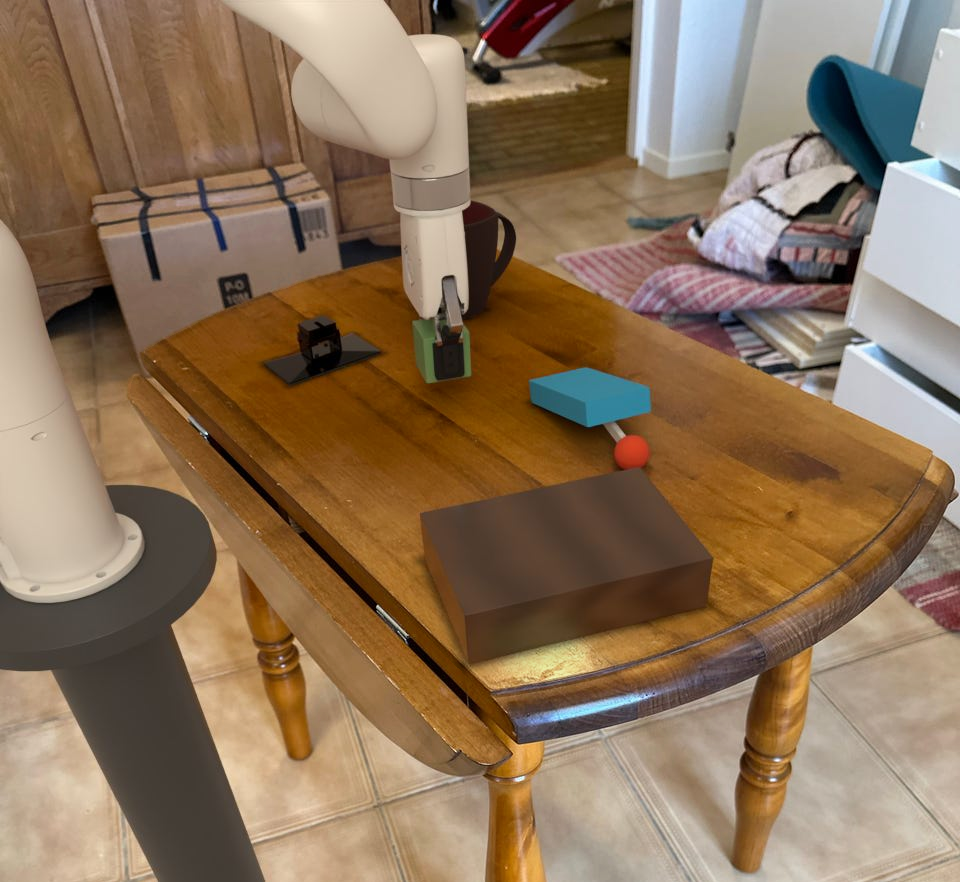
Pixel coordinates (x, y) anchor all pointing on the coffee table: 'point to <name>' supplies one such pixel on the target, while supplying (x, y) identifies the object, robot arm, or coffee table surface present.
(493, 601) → the block
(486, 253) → the cup
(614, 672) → the coffee table surface
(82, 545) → the robot arm
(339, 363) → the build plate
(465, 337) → the green toy block
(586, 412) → the lever
